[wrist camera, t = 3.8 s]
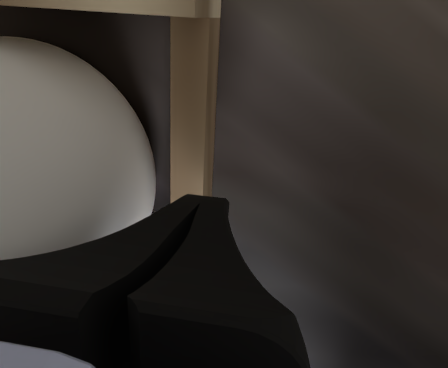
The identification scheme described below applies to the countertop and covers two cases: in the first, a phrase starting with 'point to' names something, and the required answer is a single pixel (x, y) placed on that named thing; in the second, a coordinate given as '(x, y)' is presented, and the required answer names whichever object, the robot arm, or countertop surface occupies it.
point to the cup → (66, 152)
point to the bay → (177, 80)
